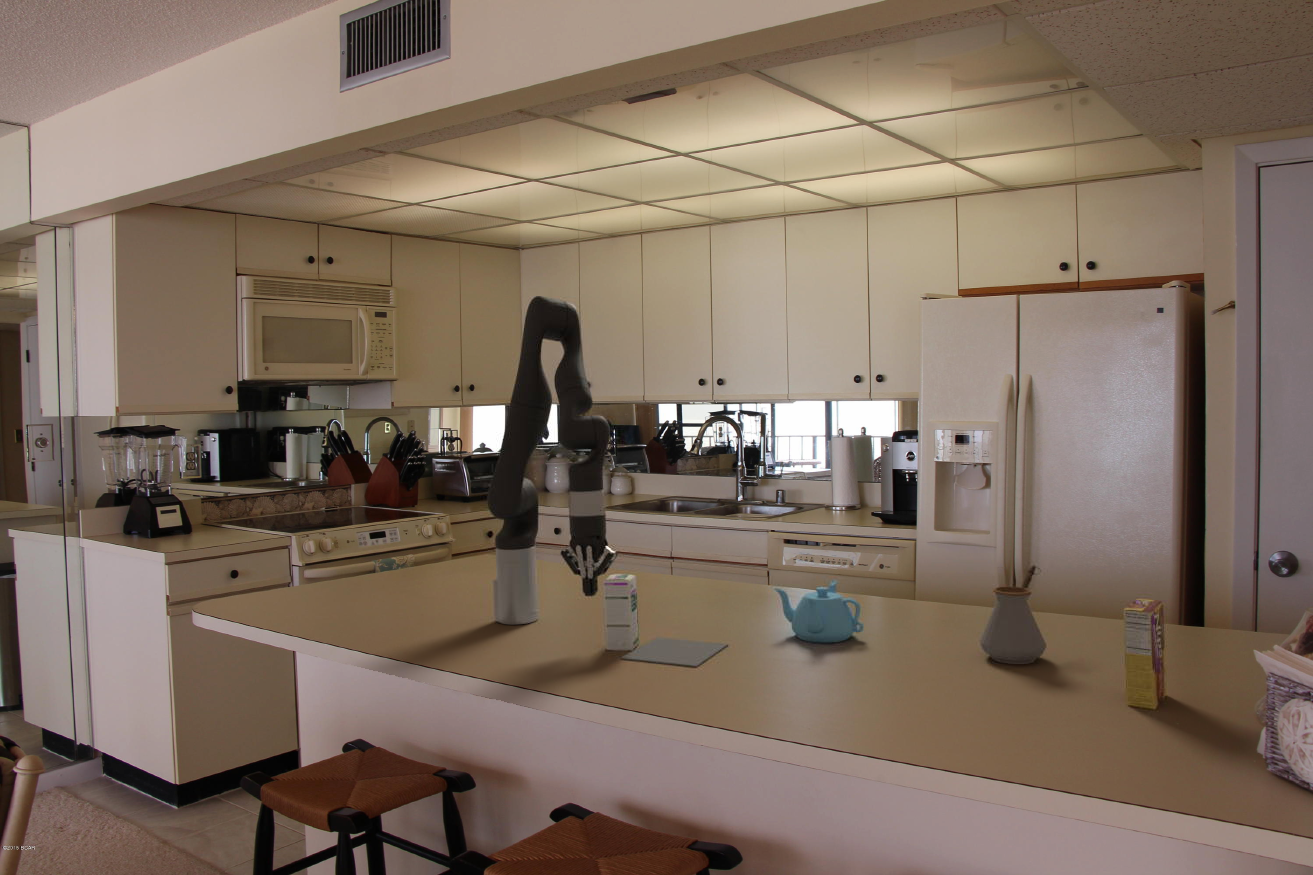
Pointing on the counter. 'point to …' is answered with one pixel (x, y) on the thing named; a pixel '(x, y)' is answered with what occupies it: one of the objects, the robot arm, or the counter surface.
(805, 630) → the teapot
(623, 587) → the syrup box
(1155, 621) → the candy box
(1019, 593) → the coffee pot
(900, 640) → the counter surface
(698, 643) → the mat
